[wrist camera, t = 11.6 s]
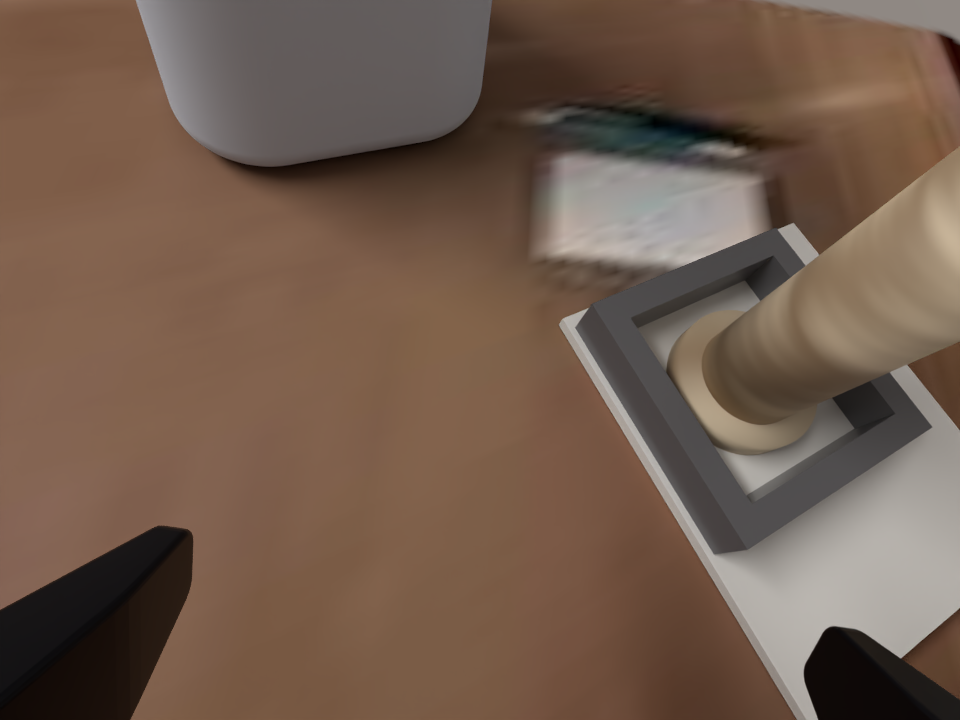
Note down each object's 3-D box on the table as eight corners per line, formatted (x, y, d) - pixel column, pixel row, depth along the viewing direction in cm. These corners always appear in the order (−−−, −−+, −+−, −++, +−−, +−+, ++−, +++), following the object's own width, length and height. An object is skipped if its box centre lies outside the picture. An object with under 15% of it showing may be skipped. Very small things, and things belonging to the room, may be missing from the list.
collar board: (1029, 537, 25) (1102, 530, 23) (802, 728, 20) (862, 747, 18) (786, 229, 30) (823, 195, 28) (558, 324, 25) (578, 294, 23)
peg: (818, 449, 24) (1254, 303, 12) (686, 460, 23) (1027, 309, 11) (773, 320, 27) (1100, 90, 15) (651, 323, 26) (899, 75, 13)
